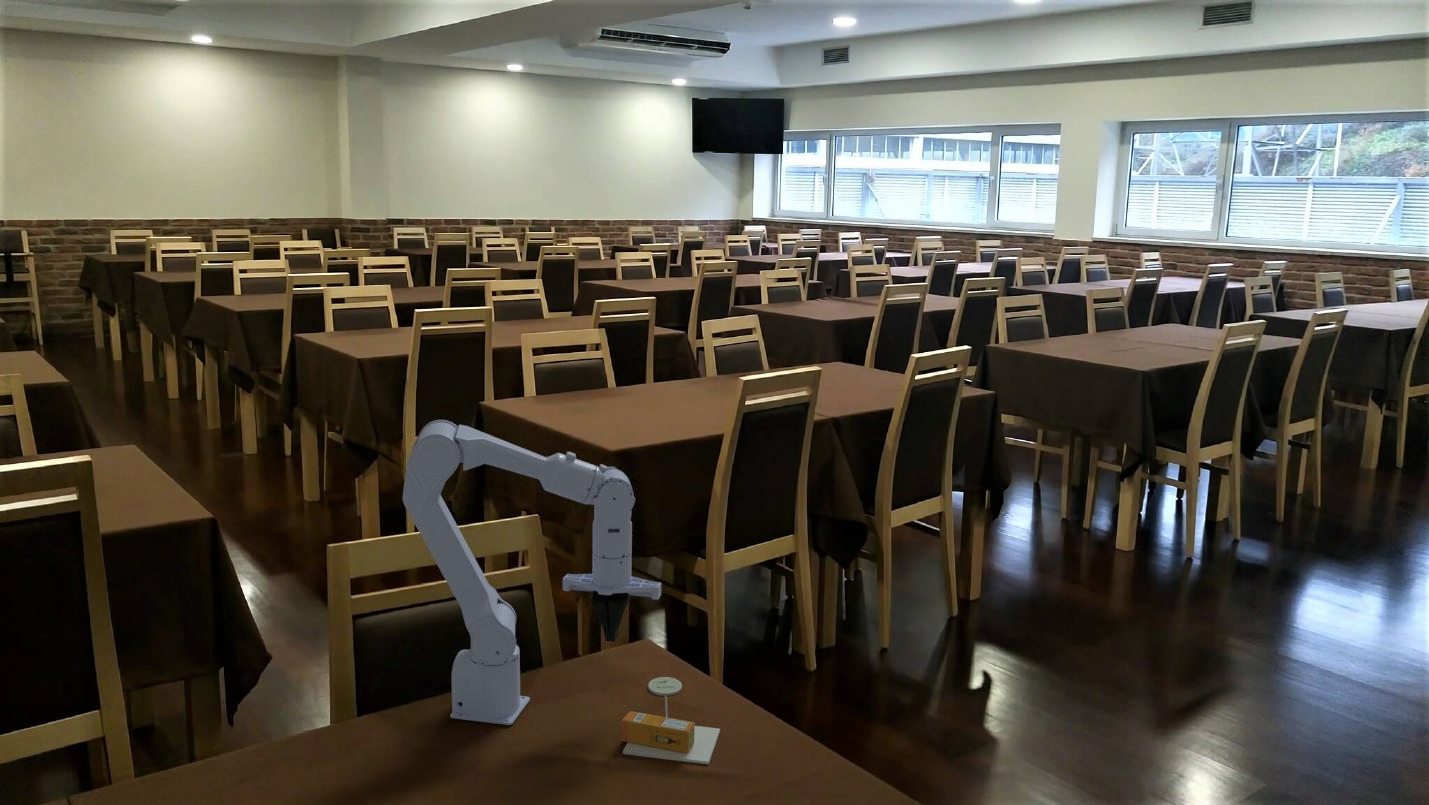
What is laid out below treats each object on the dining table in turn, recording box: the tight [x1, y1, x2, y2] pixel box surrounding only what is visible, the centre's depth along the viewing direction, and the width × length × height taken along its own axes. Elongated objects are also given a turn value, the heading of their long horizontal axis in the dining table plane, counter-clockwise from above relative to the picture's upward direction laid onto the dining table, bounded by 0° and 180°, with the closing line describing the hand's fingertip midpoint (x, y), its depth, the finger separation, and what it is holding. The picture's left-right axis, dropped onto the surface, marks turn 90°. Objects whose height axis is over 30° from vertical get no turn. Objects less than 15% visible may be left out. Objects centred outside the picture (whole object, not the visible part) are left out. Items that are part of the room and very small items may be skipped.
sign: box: [648, 676, 683, 718], centre depth 158 cm, size 5×1×15 cm
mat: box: [622, 725, 721, 765], centre depth 147 cm, size 12×9×1 cm
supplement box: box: [620, 710, 696, 753], centre depth 145 cm, size 3×3×10 cm
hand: (611, 638), depth 155 cm, fingers closed
